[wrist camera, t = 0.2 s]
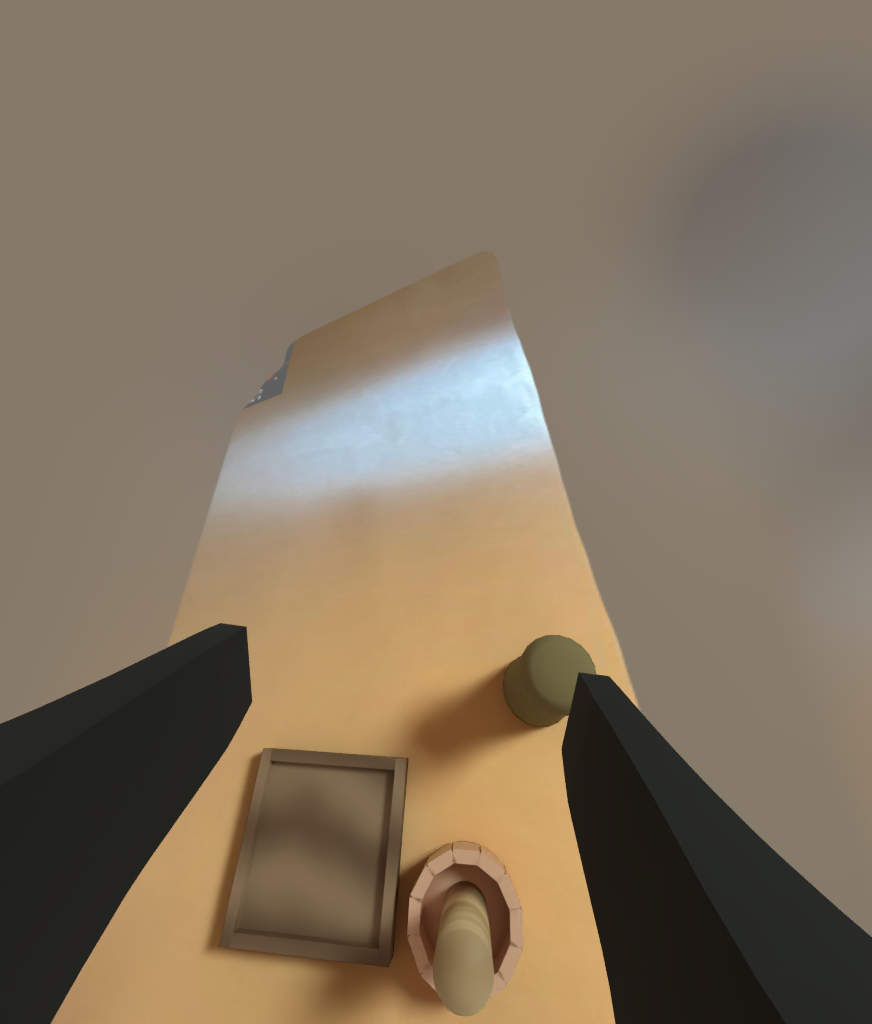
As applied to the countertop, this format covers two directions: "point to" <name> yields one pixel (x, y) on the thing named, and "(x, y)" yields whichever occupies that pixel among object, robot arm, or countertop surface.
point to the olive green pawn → (545, 679)
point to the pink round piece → (500, 897)
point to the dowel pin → (464, 951)
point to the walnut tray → (320, 858)
